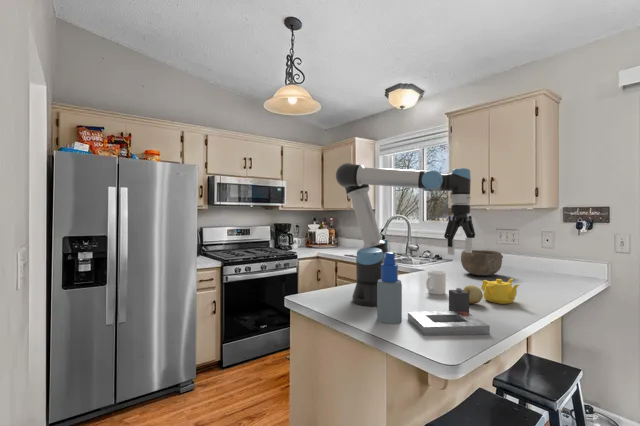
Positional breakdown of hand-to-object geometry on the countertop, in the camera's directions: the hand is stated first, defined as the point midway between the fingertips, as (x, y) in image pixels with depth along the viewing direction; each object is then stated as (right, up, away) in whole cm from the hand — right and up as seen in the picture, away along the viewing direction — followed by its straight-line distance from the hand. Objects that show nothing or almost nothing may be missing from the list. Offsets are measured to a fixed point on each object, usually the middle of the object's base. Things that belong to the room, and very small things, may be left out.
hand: (460, 253), depth 144 cm
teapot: (+20, -22, +5) cm, 31 cm away
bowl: (+41, -22, +66) cm, 81 cm away
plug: (-6, -22, -14) cm, 27 cm away
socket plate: (-17, -22, -28) cm, 39 cm away
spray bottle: (-35, -22, -21) cm, 47 cm away
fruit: (+6, -22, +1) cm, 23 cm away
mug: (-5, -22, +19) cm, 30 cm away
